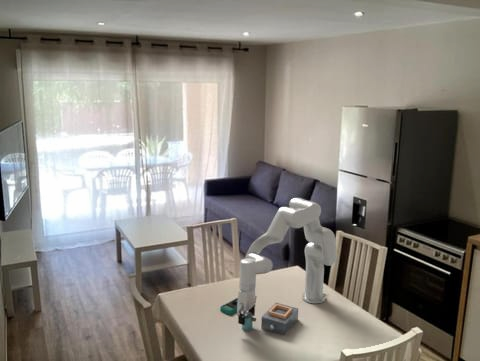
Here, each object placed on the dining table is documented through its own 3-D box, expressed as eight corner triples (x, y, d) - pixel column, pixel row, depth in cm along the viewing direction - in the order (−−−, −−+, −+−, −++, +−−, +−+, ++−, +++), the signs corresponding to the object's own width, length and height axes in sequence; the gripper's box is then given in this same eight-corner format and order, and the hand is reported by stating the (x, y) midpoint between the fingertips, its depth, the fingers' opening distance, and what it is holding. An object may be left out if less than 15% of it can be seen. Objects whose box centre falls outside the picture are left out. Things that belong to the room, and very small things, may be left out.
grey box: (275, 313, 217) (275, 299, 216) (297, 319, 212) (298, 305, 210) (259, 330, 202) (259, 315, 200) (283, 337, 196) (283, 322, 195)
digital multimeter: (249, 305, 226) (249, 300, 226) (230, 316, 215) (230, 310, 215) (238, 300, 231) (238, 295, 230) (219, 311, 220) (219, 306, 219)
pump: (245, 324, 207) (245, 310, 206) (257, 328, 204) (257, 314, 203) (239, 329, 203) (240, 315, 202) (252, 333, 200) (253, 319, 198)
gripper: (249, 277, 208) (248, 309, 212) (231, 290, 194) (230, 325, 197) (263, 280, 205) (261, 313, 208) (245, 294, 190) (244, 330, 193)
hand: (246, 319), depth 203 cm, fingers open, 9 cm apart
